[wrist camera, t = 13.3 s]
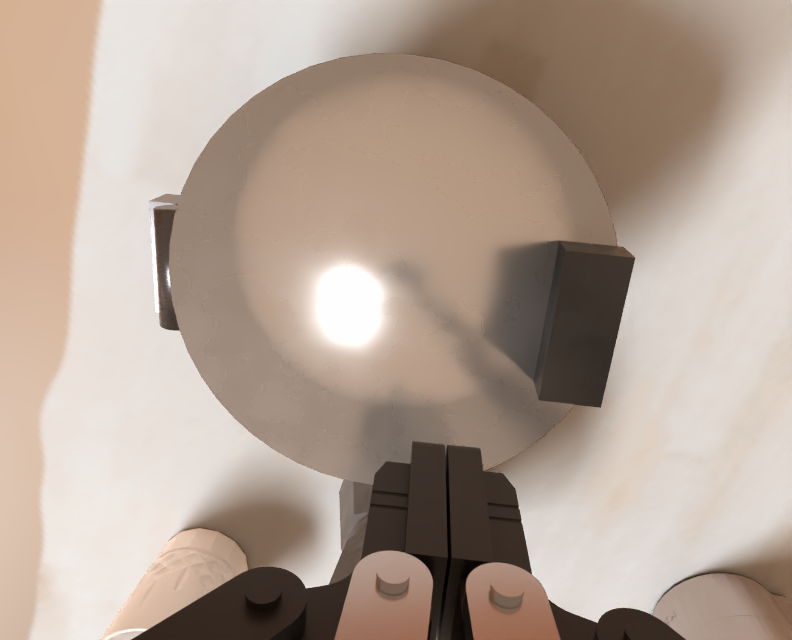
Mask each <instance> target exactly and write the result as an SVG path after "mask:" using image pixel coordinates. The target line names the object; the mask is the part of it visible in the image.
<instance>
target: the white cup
mask: <svg viewBox="0 0 792 640" xmlns="http://www.w3.org/2000/svg"><path fill="white" fill-rule="evenodd" d="M245 571H248V565H247V559H246V555H245V554H244V553H243V551H242V550H241V549H240V547H239V546H238V545H237V543H236V542H235V541H233V540H232V539H230V538H228V537H227V536H225V535H223V534H222V533H220V532H218V531H213V530H208V529H202V528H196V529H191V530H186V531H181V532H180V533H178V534H177V535H176V536H174V537H173V538H172V539H171V540H169V541H168V542H167V543H166V545H165V546H164V548H163V549H162V551H161V553H160V554H159V556H158V557H157V559H156V560H155V562H154V563H153V564H152V565H151V566H150V568H149V569H148V570H147V571H146V573H145V574H144V576H143V577H142V579H141V580H140V582H139V583H138V585H137V586H136V587H135V589H134V590H133V591H132V593H131V594H130V596H129V597H128V599H127V600H126V602H125V603H124V605H123V606H122V608H121V609H120V611H119V613H118V614H117V616H116V617H115V619H114V620H113V622H112V623H111V625H110V626H109V628H108V629H107V631H106V632H105V634H104V635H103V637H102V638H101V640H131V639H133V638H134V637H136V636H138V635H139V634H141V633H143V632H144V631H146V630H148V629H149V628H151V627H153V626H154V625H156V624H158V623H159V622H161V621H163V620H164V619H166V618H168V617H169V616H171V615H173V614H174V613H176V612H178V611H179V610H181V609H183V608H184V607H186V606H187V605H189V604H191V603H192V602H194V601H196V600H197V599H199V598H201V597H202V596H204V595H206V594H207V593H209V592H211V591H212V590H214V589H216V588H217V587H219V586H221V585H222V584H224V583H226V582H227V581H229V580H231V579H232V578H234V577H236V576H237V575H239V574H241V573H243V572H245Z"/></svg>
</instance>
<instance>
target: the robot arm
mask: <svg viewBox="0 0 792 640" xmlns="http://www.w3.org/2000/svg"><path fill="white" fill-rule="evenodd" d="M518 507H519V505H518V500H517V495H516V490H515V488H514V487H513V486H512V484H511V483H510V482H509V481H508V479H507V478H506V477H505V476H504V474H503V473H493V472H484V471H483V464H482V456H481V449H480V448H475V447H466V446H456V445H447V447H446V453H445V444H436V443H427V442H417V441H412V448H411V457H410V464H408V463H399V462H389V461H386V462H385V463H384V464H383V466H382V467H381V468H380V469H379V470H378V471H377V472H376V473H375V475H374V482H373V488H372V494H371V500H370V507H369V513H368V519H367V526H366V532H365V538H364V544H363V551H362V556H361V560H360V562H359V563H358V564H357V565H356V567H355V569H354V571H353V572H352V573H351V574H350V575H349V576H347V577H346V578H344V579H342V580H340V581H338V582H336V583H333V584H330V585H325V586H320V587H313V588H307V589H306V588H305V586H304V584H303V582H302V581H301V580H300V579H299V578H298V577H297V576H296V575H295V574H293V573H292V572H289V571H287V570H285V569H281V568H276V567H259V568H254V569H250V570H248V571H245V572H243V573H241V574H239V575H237V576H236V577H234V578H232V579H231V580H229V581H227V582H226V583H224V584H222V585H221V586H219V587H217V588H216V589H214V590H212V591H211V592H209V593H207V594H206V595H204V596H202V597H201V598H199V599H197V600H196V601H194V602H192V603H191V604H189V605H187V606H186V607H184V608H183V609H181V610H179V611H178V612H176V613H174V614H173V615H171V616H169V617H168V618H166V619H164V620H163V621H161V622H159V623H158V624H156V625H154V626H153V627H151V628H149V629H148V630H146V631H144V632H143V633H141V634H139V635H138V636H136V637H134V638H133V639H131V640H436V636H437V640H792V606H791V605H790V603H789V602H788V600H787V599H786V597H785V596H779V595H774V594H771V593H770V592H768V591H767V590H766V589H765V588H764V587H763V586H761V585H760V584H759V583H757V582H755V581H753V580H751V579H749V578H746V577H743V576H740V575H735V574H727V573H716V574H707V575H702V576H697V577H694V578H691V579H689V580H686V581H684V582H682V583H680V584H678V585H677V586H675V587H673V588H672V589H671V590H670V591H668V592H667V593H666V594H665V595H664V596H663V597H662V598H661V600H660V601H659V602H658V603H657V605H656V607H655V609H654V611H653V614H652V615H651V614H648V613H646V612H643V611H640V610H636V609H631V608H617V609H613V610H610V611H608V612H606V613H605V614H603V615H602V616H601V618H600V619H599V621H598V623H596V622H593V621H591V620H588V619H585V618H583V617H580V616H577V615H574V614H572V613H570V612H567V611H565V610H563V609H562V608H560V607H558V606H557V605H555V604H554V603H552V602H551V601H550V600H549V599H548V597H547V594H546V592H545V589H544V588H543V586H542V585H541V583H540V582H539V581H538V580H537V579H536V578H535V577H534V576H533V575H532V572H531V567H530V561H529V556H528V551H527V546H526V541H525V536H524V531H523V526H522V523H521V515H520V510H519V509H518Z"/></svg>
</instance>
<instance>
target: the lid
mask: <svg viewBox="0 0 792 640" xmlns="http://www.w3.org/2000/svg"><path fill="white" fill-rule="evenodd" d="M153 210H154V228H155V246H156V264H157V283H158V301H159V319H160V326H161V327H162V328H165V329H168V330H180V332H181V335H182V337H183V340H184V342H185V345H186V348H187V350H188V353H189V354H190V356H191V358H192V360H193V362H194V364H195V366H196V368H197V369H198V371H199V373H200V375H201V377H202V378H203V380H204V381H205V382H206V384H207V385H208V387H209V388H210V390H211V391H212V392H213V394H214V395H215V397H216V398H217V399H218V400H219V401H220V403H221V404H222V405H223V406H224V407H225V408H226V409H227V410H228V412H229V413H230V414H231V415H232V416H233V417H234V418H235V419H236V420H237V421H238V422H239V423H241V424H242V425H243V426H244V427H245V428H246V429H247V430H248V431H249V432H251V433H252V434H253V435H254V436H256V437H257V438H258V439H260V440H261V441H263V442H264V443H265V444H267V445H268V446H270V447H271V448H272V449H274V450H275V451H277V452H279V453H281V454H283V455H284V456H286V457H288V458H290V459H292V460H293V461H295V462H297V463H299V464H302V465H304V466H306V467H309V468H311V469H314V470H316V471H318V472H321V473H324V474H327V475H331V476H334V477H337V478H341V479H344V480H348V481H354V482H359V483H365V484H371V485H373V482H374V475H375V473H376V472H377V471H378V470H379V469H380V468H381V467H382V466H383V464H384V463H385V462H386V461H389V462H399V463H408V464H410V457H411V448H412V441H417V442H427V443H436V444H445V453H446V447H447V445H456V446H466V447H475V448H480V449H481V456H482V464H483V471H485V470H487V469H490V468H492V467H494V466H497V465H499V464H501V463H503V462H505V461H507V460H508V459H510V458H512V457H514V456H516V455H517V454H519V453H521V452H523V451H524V450H526V449H527V448H528V447H530V446H531V445H532V444H534V443H535V442H537V441H538V440H539V439H541V438H542V437H544V436H545V435H546V434H547V433H548V432H549V431H550V430H551V429H552V428H553V427H554V426H555V425H556V424H558V423H559V422H560V421H561V420H562V419H563V418H564V417H565V415H566V414H567V413H568V412H569V411H570V409H571V408H572V407H573V406H574V405H583V406H592V407H600V408H601V404H602V400H603V395H604V391H605V387H606V382H607V378H608V374H609V369H610V365H611V361H612V356H613V352H614V348H615V343H616V339H617V334H618V330H619V326H620V321H621V317H622V313H623V308H624V304H625V300H626V295H627V291H628V287H629V282H630V278H631V274H632V269H633V265H634V260H635V257H634V256H633V255H632V254H631V253H629V252H628V251H627V250H626V249H625V248H624V247H620V246H617V240H616V234H615V230H614V226H613V223H612V219H611V216H610V212H609V209H608V205H607V203H606V200H605V198H604V196H603V194H602V191H601V189H600V187H599V184H598V182H597V180H596V178H595V176H594V174H593V172H592V171H591V169H590V168H589V166H588V164H587V163H586V161H585V160H584V158H583V156H582V155H581V153H580V152H579V150H578V149H577V147H576V146H575V145H574V144H573V143H572V141H571V140H570V139H569V138H568V137H567V136H566V134H565V133H564V132H563V131H562V130H561V128H560V127H559V126H558V125H557V124H556V123H555V122H554V121H553V120H552V119H551V118H549V117H548V116H547V115H546V114H545V113H544V112H543V111H542V110H540V109H539V108H538V107H537V106H536V105H535V104H534V103H533V102H531V101H530V100H528V99H527V98H525V97H524V96H522V95H521V94H519V93H518V92H516V91H515V90H513V89H512V88H510V87H509V86H507V85H505V84H504V83H502V82H500V81H497V80H495V79H493V78H491V77H489V76H487V75H485V74H483V73H481V72H479V71H476V70H474V69H471V68H468V67H465V66H462V65H458V64H455V63H452V62H449V61H446V60H442V59H437V58H430V57H424V56H418V55H412V54H381V53H374V54H366V55H358V56H350V57H343V58H339V59H335V60H331V61H328V62H324V63H321V64H317V65H313V66H310V67H308V68H305V69H303V70H301V71H299V72H296V73H294V74H292V75H290V76H287V77H285V78H283V79H281V80H279V81H277V82H276V83H274V84H273V85H271V86H269V87H268V88H266V89H265V90H263V91H261V92H260V93H258V94H257V95H255V96H254V97H253V98H251V99H250V100H249V101H248V102H247V103H245V104H244V105H243V106H242V107H241V108H240V109H238V110H237V111H236V112H235V113H234V114H233V115H231V116H230V117H229V119H228V120H227V121H226V122H225V123H224V124H223V125H222V126H221V128H220V129H219V130H218V131H217V132H216V133H215V134H214V136H213V137H212V138H211V139H210V141H209V142H208V144H207V145H206V147H205V148H204V150H203V151H202V153H201V154H200V156H199V157H198V159H197V161H196V162H195V164H194V166H193V168H192V170H191V172H190V174H189V177H188V179H187V181H186V183H185V185H184V187H183V189H182V192H181V196H180V199H179V202H178V205H161V206H156V207H154V208H153Z"/></svg>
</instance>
